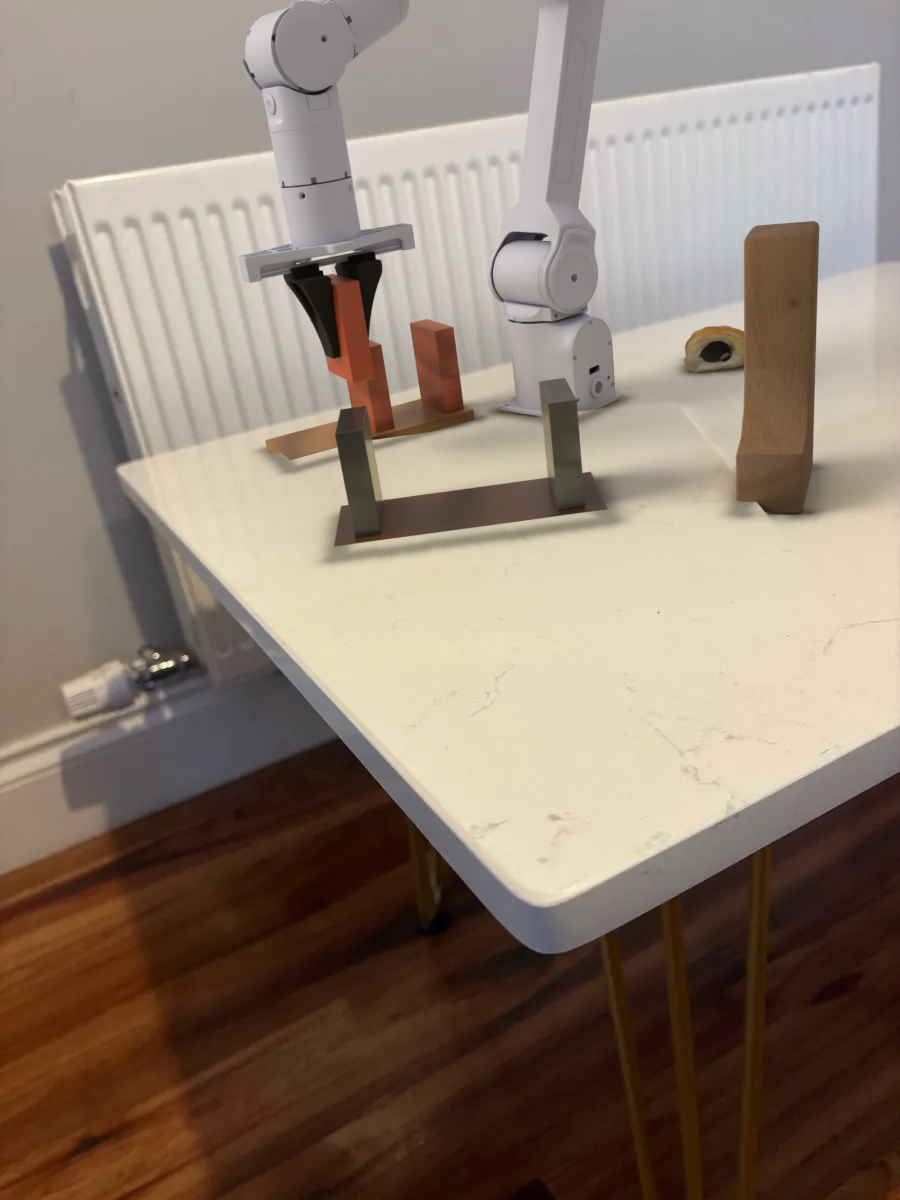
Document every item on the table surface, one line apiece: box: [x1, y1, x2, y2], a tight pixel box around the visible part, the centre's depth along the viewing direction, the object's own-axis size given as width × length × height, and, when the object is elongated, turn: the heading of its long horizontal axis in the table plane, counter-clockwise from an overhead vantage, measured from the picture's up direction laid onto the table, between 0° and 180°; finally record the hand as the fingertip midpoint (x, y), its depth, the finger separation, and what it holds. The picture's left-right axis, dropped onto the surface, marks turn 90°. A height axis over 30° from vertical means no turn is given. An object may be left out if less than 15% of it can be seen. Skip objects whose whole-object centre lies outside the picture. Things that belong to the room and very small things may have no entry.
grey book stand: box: [333, 378, 608, 547], centre depth 76 cm, size 20×8×9 cm, turn 92°
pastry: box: [683, 325, 744, 373], centre depth 107 cm, size 9×7×4 cm
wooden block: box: [735, 220, 820, 514], centre depth 71 cm, size 9×4×18 cm, turn 159°
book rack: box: [264, 318, 475, 461], centre depth 99 cm, size 19×8×9 cm, turn 116°
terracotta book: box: [325, 273, 375, 383], centre depth 86 cm, size 2×6×8 cm, turn 26°
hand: (346, 352), depth 87 cm, fingers closed on terracotta book, 2 cm apart
